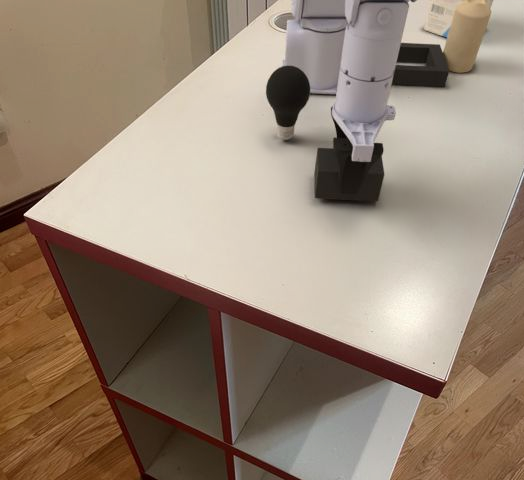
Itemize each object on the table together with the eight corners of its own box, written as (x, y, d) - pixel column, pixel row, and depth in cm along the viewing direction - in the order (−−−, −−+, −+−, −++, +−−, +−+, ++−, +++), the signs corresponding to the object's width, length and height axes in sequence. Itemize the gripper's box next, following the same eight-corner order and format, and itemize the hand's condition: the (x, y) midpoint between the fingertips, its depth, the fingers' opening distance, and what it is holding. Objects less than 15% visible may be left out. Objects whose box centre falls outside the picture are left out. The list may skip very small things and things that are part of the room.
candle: (473, 74, 86) (496, 7, 78) (439, 71, 87) (459, 4, 79) (471, 59, 89) (494, -7, 81) (439, 56, 90) (458, -10, 82)
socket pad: (361, 83, 84) (364, 67, 82) (358, 56, 89) (360, 40, 87) (444, 87, 84) (449, 71, 82) (435, 59, 89) (440, 44, 87)
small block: (314, 198, 65) (318, 171, 62) (314, 174, 68) (317, 147, 65) (377, 201, 65) (384, 174, 62) (374, 177, 68) (381, 150, 65)
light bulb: (281, 123, 76) (285, 52, 68) (313, 138, 74) (321, 67, 66) (256, 140, 73) (257, 68, 65) (288, 156, 71) (293, 84, 63)
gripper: (414, 106, 50) (384, 217, 61) (397, 39, 58) (373, 147, 69) (341, 103, 50) (324, 214, 61) (335, 36, 58) (321, 144, 69)
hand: (347, 178), depth 65 cm, fingers closed on small block, 5 cm apart
